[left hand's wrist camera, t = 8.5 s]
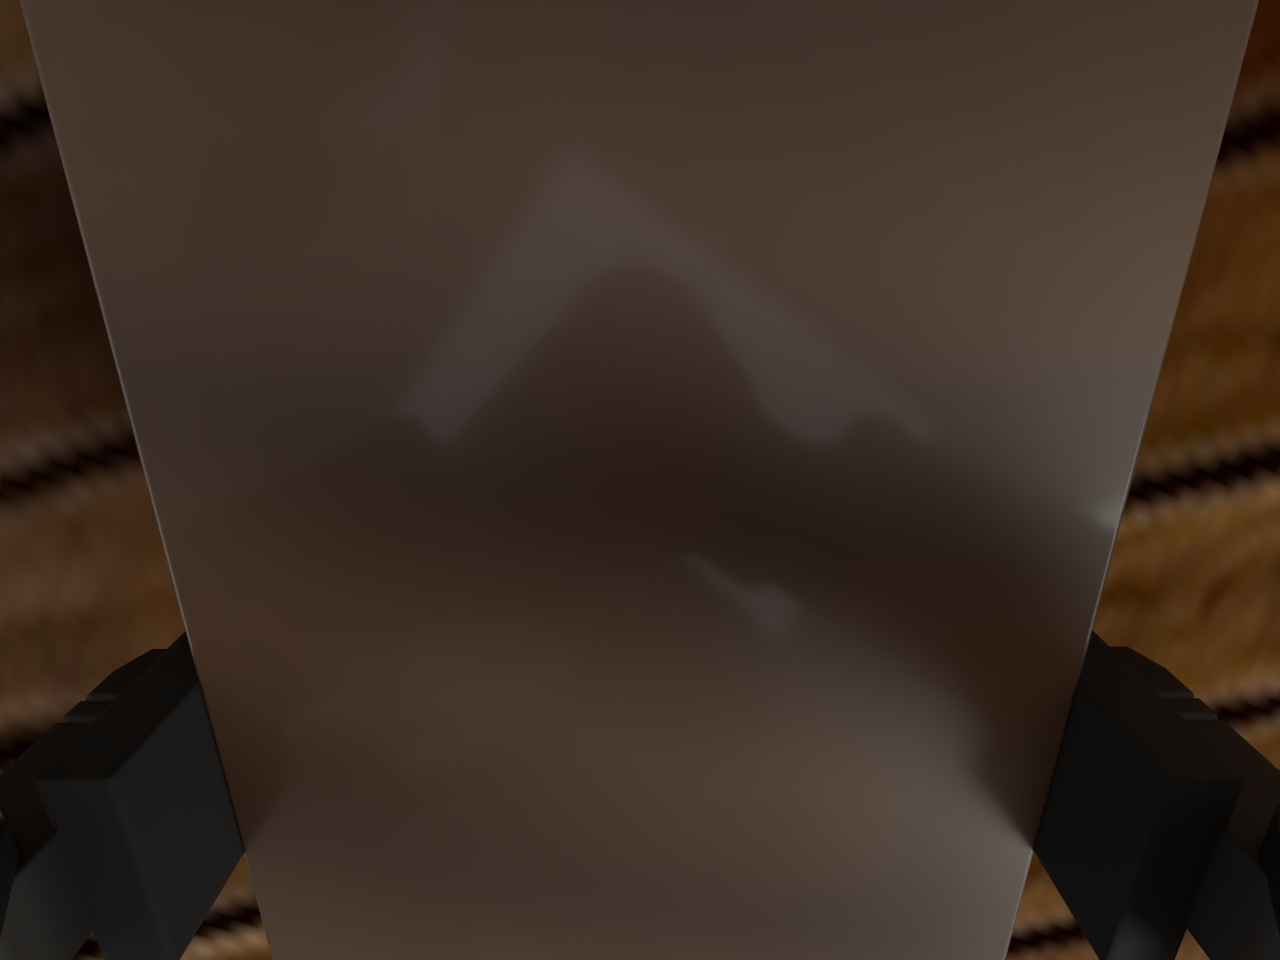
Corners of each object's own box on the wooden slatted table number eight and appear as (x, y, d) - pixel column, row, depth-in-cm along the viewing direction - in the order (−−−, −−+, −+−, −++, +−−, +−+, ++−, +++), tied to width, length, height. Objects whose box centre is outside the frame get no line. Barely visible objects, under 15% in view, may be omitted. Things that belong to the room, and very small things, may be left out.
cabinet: (390, -118, 15) (-227, -909, 4) (886, -116, 15) (1505, -903, 4) (463, 608, 21) (287, 1023, 11) (813, 608, 21) (991, 1022, 11)
